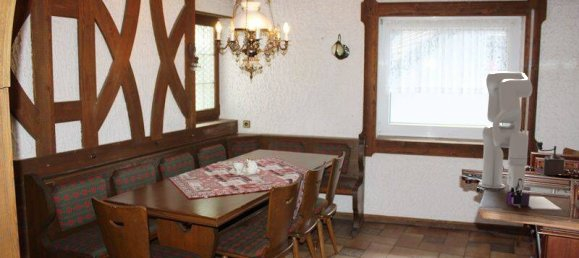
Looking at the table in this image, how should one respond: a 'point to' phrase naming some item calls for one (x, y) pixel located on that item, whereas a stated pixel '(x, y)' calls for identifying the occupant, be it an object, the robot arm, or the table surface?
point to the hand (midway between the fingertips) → (515, 202)
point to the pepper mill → (552, 162)
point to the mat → (541, 203)
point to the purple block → (523, 201)
